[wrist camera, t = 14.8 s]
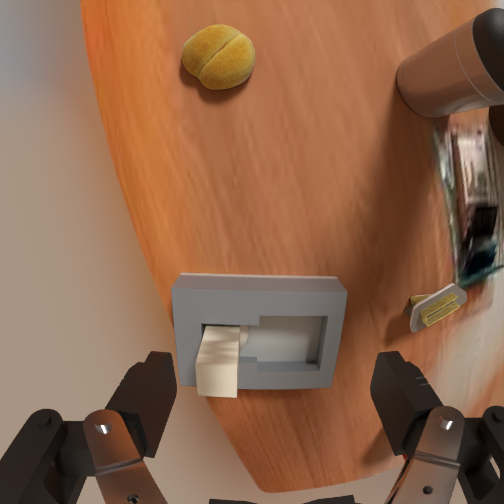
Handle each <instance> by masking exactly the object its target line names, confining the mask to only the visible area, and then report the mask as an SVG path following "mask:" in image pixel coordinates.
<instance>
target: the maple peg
mask: <svg viewBox="0 0 504 504" xmlns="http://www.w3.org/2000/svg"><path fill="white" fill-rule="evenodd" d="M203 330H204V335H203V339H202V342H201V346H200V349H199V353H198V357H197V360H196V364H195V369H196V381H197V390H198V391H197V392H198V395H200V396H215V397H235V398H237V387H238V371H239V355H240V348H242V347H243V346H244V344H245V343H246V341H247V338H248V325H225V324H203Z"/></svg>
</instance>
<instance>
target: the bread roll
mask: <svg viewBox="0 0 504 504" xmlns="http://www.w3.org/2000/svg"><path fill="white" fill-rule="evenodd" d="M181 58H182V62H183V65H184V67H185V68H186V70H187V71H188V72H189V73H191V74H192V75H194V76H196V77H197V78H198V79H199V80H200V81H201V83H202V84H203V86H205V87H207V88H208V89H212V90H220V89H227V88H231V87H234V86H237V85H239V84H241V83H243V82H244V81H245V80H246V79H247V78H248V77H249V76H250V74H251V72H252V70H253V67H254V64H255V59H256V55H255V49H254V47H253V44H252V42H251V41H250V40H249V38H248V37H246V36H245V35H244V34H242V33H241V32H239V31H238V30H236V29H234V28H232V27H230V26H226V25H212V26H209V27H207V28H205V29H203V30H201V31H198V33H197V34H195V35H194V36H192V37H191V38H190V39H189V40H188V41H187V42H186V43H185V44H184V45H183V51H182V57H181Z"/></svg>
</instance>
